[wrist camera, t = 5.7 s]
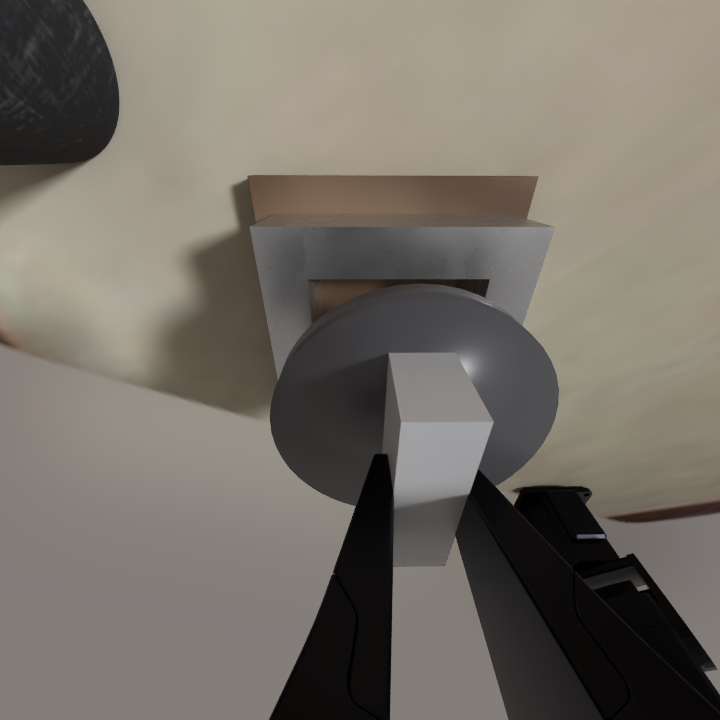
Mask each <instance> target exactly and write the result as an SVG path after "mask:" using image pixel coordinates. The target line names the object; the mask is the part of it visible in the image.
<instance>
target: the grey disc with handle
mask: <svg viewBox="0 0 720 720" xmlns="http://www.w3.org/2000/svg"><path fill="white" fill-rule="evenodd" d="M558 395H559V388H558V382H557V376H556V373H555V370H554V367H553V365H552V362H551V360H550V358H549V356H548V355H547V353H546V352H545V350H544V348H543V347H542V346H541V344H540V343H539V342H538V341H537V340H536V339H535V338H534V337H533V336H532V335H531V334H530V333H529V332H528V331H527V330H526V329H525V328H524V327H523V326H522V325H521V324H520V323H518V322H517V321H516V320H515V319H514V318H513V317H512V316H511V315H510V314H508V313H507V312H506V311H505V310H503V309H502V308H501V307H499V306H498V305H497V304H495V303H493V302H491V301H489V300H487V299H486V298H484V297H482V296H480V295H477V294H474V293H472V292H469V291H466V290H463V289H459V288H454V287H449V286H444V285H435V284H406V285H396V286H391V287H386V288H381V289H376V290H373V291H370V292H367V293H364V294H361V295H358V296H356V297H354V298H352V299H350V300H347V301H345V302H343V303H341V304H339V305H338V306H336V307H334V308H333V309H331V310H330V311H328V312H327V313H325V314H324V315H322V316H321V317H320V318H319V319H318V320H317V321H315V322H314V323H313V324H312V325H311V326H310V327H309V328H308V329H307V330H306V331H305V332H304V333H303V334H302V336H301V337H300V338H299V339H298V340H297V342H296V343H295V345H294V347H293V348H292V350H291V351H290V353H289V355H288V357H287V359H286V362H285V364H284V366H283V369H282V372H281V374H280V377H279V379H278V382H277V385H276V387H275V390H274V394H273V398H272V402H271V410H270V423H271V431H272V435H273V438H274V442H275V445H276V447H277V449H278V451H279V453H280V455H281V457H282V458H283V459H284V461H285V462H286V464H287V465H288V466H289V468H290V469H291V470H292V471H293V472H294V473H295V474H296V475H297V476H298V477H299V478H300V479H301V480H303V481H304V482H305V483H307V484H308V485H309V486H311V487H312V488H314V489H316V490H317V491H319V492H320V493H322V494H324V495H327V496H329V497H331V498H333V499H335V500H338V501H341V502H344V503H347V504H350V505H354V506H356V505H357V502H358V499H359V496H360V493H361V490H362V488H363V485H364V482H365V479H366V476H367V473H368V470H369V468H370V465H371V462H372V459H373V456H374V455H375V454H383V453H386V454H387V455H388V460H389V467H390V474H391V481H392V488H393V495H394V537H393V567H399V566H400V567H401V566H402V567H404V566H405V567H406V566H445V565H446V562H447V559H448V556H449V553H450V550H451V547H452V544H453V541H454V538H455V533H456V530H457V527H458V524H459V521H460V518H461V515H462V512H463V509H464V506H465V503H466V500H467V497H468V495H469V494H470V491H471V488H472V485H473V482H474V479H475V476H476V473H477V470H478V469H479V470H480V471H481V472H482V473H483V474H484V475H485V476H486V477H487V478H488V479H489V480H490V481H491V482H492V484H493V485H494V486H496V485H498V484H500V483H501V482H503V481H504V480H506V479H507V478H509V477H510V476H512V475H513V474H514V473H515V472H517V471H518V470H519V469H520V468H521V467H523V466H524V465H525V464H526V463H527V462H528V461H529V460H530V459H531V458H532V457H533V456H534V454H535V453H536V452H537V450H538V449H539V448H540V447H541V445H542V444H543V442H544V441H545V439H546V437H547V435H548V434H549V432H550V430H551V427H552V425H553V422H554V420H555V416H556V412H557V407H558Z"/></svg>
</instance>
